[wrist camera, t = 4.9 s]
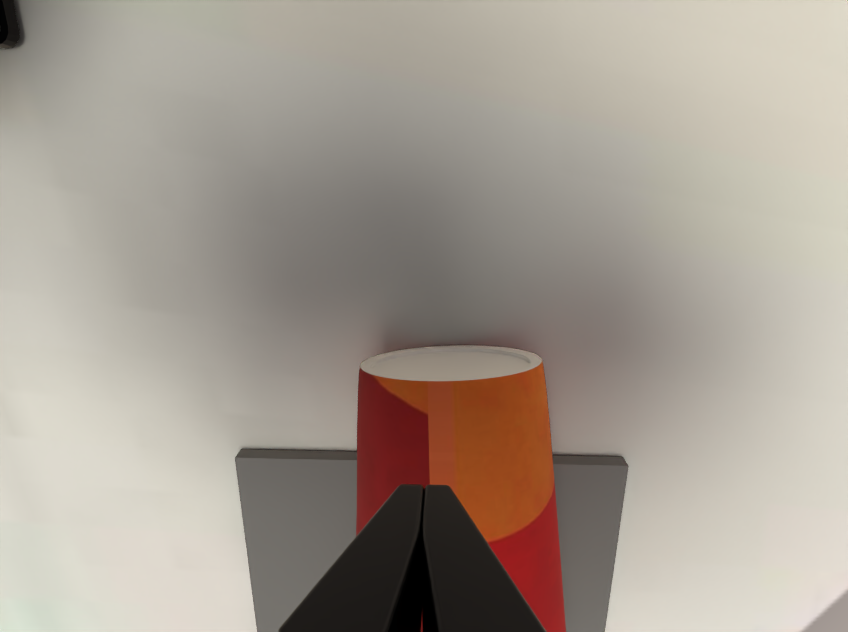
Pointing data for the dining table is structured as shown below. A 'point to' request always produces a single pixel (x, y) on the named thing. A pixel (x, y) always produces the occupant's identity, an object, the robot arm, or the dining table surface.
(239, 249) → the dining table surface
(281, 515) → the mat
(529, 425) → the paper cup
